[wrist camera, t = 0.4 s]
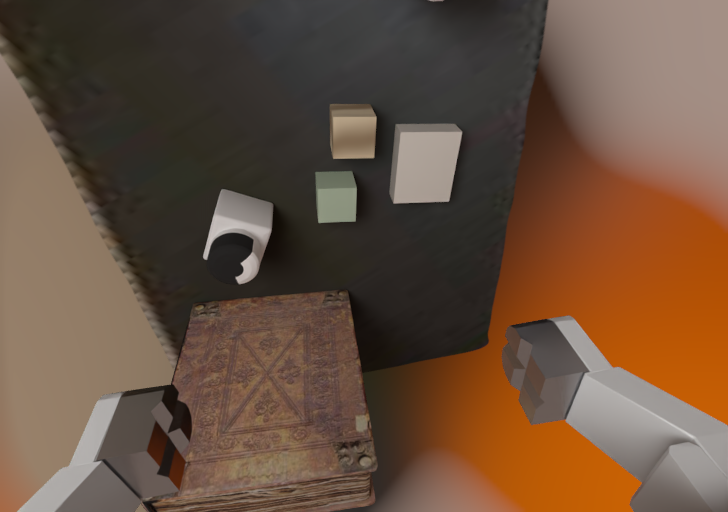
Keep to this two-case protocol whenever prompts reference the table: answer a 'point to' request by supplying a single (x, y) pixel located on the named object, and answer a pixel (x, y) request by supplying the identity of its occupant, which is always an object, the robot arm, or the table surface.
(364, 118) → the maple cube
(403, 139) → the tile slab
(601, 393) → the robot arm
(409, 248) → the table surface
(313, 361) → the book
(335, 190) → the sage cube
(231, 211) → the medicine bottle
